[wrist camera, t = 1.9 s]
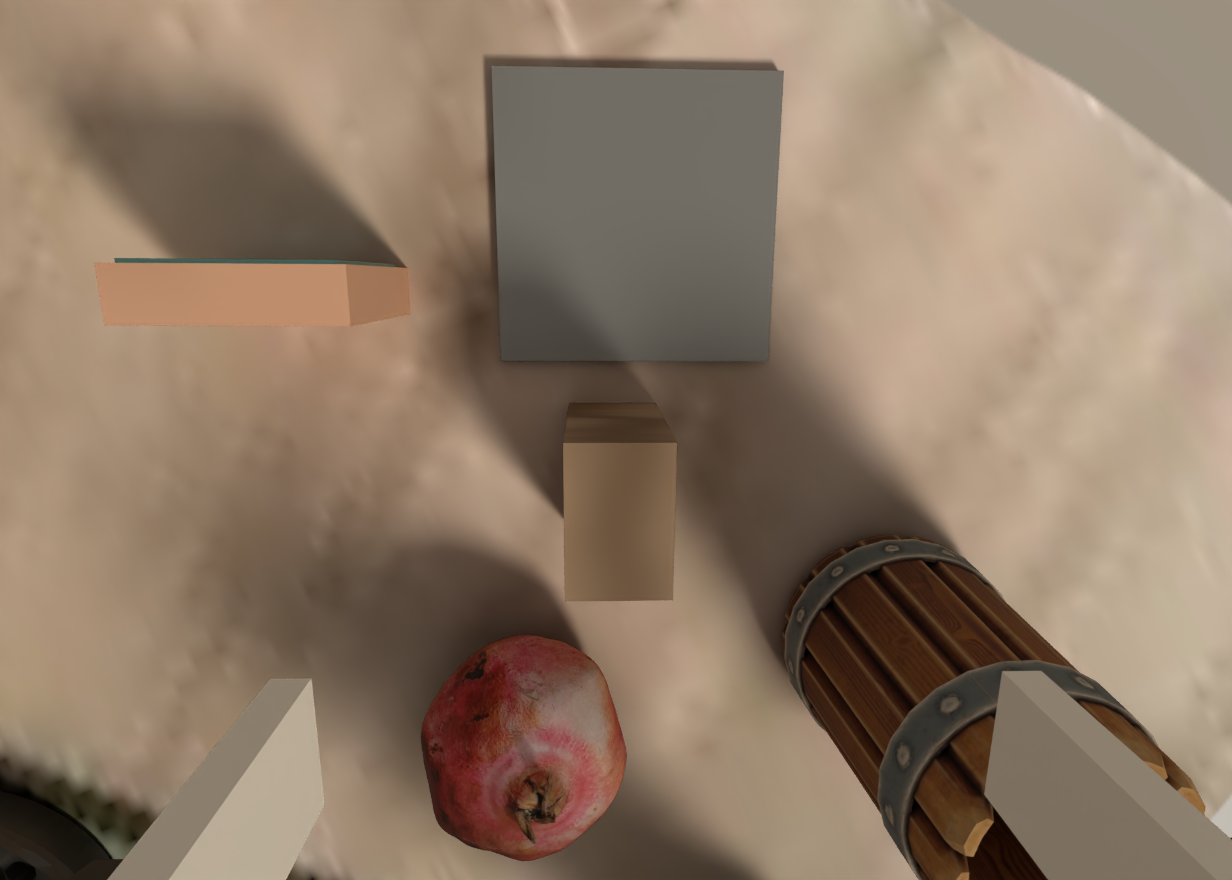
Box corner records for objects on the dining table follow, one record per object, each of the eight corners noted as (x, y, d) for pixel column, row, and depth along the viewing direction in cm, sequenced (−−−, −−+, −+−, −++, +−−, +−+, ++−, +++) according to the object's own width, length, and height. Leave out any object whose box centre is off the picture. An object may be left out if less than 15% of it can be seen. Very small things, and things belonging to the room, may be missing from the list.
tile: (226, 313, 31) (103, 325, 23) (220, 263, 30) (93, 258, 23) (410, 314, 31) (350, 326, 23) (407, 264, 31) (345, 259, 23)
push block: (570, 526, 34) (564, 601, 26) (569, 403, 32) (563, 443, 25) (653, 525, 34) (672, 600, 26) (655, 403, 32) (677, 442, 25)
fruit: (448, 779, 37) (398, 961, 27) (433, 612, 34) (373, 743, 25) (624, 771, 37) (636, 948, 27) (620, 605, 35) (632, 732, 25)
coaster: (501, 359, 32) (500, 360, 31) (493, 69, 29) (491, 65, 29) (765, 359, 32) (768, 361, 32) (780, 74, 29) (783, 70, 29)
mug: (766, 547, 34) (898, 746, 20) (979, 512, 34) (1270, 686, 20) (796, 815, 38) (927, 1154, 23) (990, 784, 38) (1242, 1102, 23)
